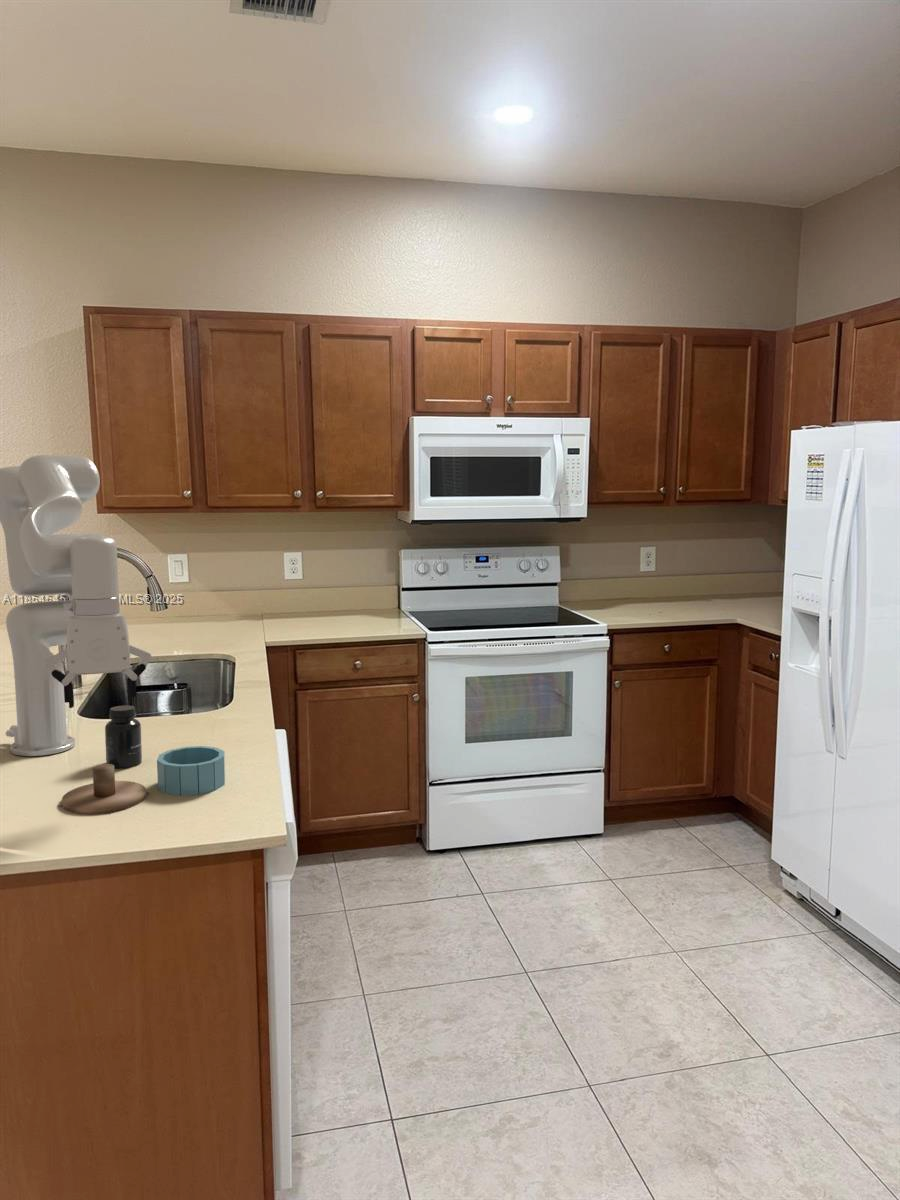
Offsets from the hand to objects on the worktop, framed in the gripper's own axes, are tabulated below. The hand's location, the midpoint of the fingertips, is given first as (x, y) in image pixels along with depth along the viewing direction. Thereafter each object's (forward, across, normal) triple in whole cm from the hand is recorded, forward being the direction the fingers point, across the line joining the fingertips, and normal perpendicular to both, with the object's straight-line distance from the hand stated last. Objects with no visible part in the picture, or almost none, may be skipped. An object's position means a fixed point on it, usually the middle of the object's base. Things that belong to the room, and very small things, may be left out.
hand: (101, 703), depth 151 cm
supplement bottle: (+18, +4, +21) cm, 28 cm away
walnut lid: (+18, 0, +1) cm, 18 cm away
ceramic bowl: (+18, +15, +3) cm, 24 cm away
